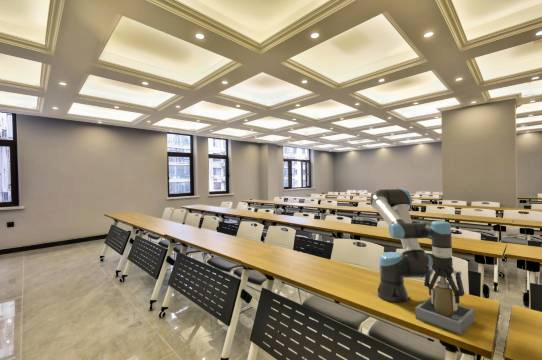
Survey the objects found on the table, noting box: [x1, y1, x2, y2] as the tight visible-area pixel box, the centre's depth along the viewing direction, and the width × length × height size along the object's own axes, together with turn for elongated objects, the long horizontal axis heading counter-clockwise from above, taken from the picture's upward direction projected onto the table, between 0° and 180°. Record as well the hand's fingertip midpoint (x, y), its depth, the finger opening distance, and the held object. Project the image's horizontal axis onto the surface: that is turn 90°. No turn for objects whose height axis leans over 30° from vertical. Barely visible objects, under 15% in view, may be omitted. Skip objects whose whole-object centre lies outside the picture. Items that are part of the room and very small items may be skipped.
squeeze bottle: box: [434, 276, 454, 317], centre depth 116 cm, size 8×8×18 cm
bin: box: [414, 296, 476, 337], centre depth 116 cm, size 17×17×5 cm
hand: (444, 306), depth 116 cm, fingers closed on squeeze bottle, 8 cm apart
